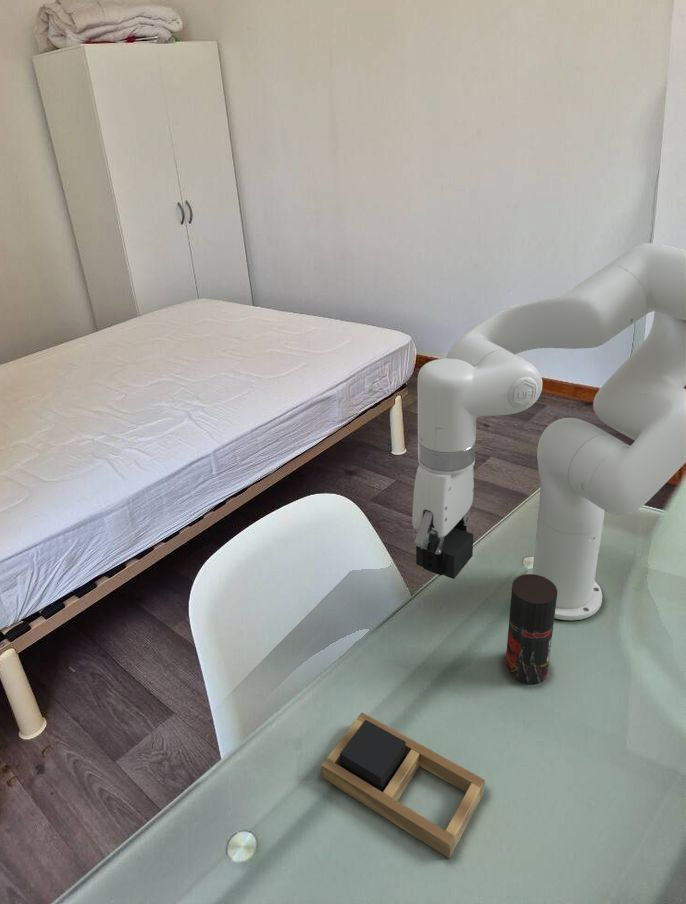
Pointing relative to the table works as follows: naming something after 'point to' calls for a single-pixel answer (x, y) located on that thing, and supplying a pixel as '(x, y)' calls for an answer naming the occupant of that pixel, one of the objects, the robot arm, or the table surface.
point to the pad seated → (373, 755)
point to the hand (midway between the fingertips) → (444, 557)
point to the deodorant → (530, 628)
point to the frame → (388, 799)
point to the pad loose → (452, 551)
